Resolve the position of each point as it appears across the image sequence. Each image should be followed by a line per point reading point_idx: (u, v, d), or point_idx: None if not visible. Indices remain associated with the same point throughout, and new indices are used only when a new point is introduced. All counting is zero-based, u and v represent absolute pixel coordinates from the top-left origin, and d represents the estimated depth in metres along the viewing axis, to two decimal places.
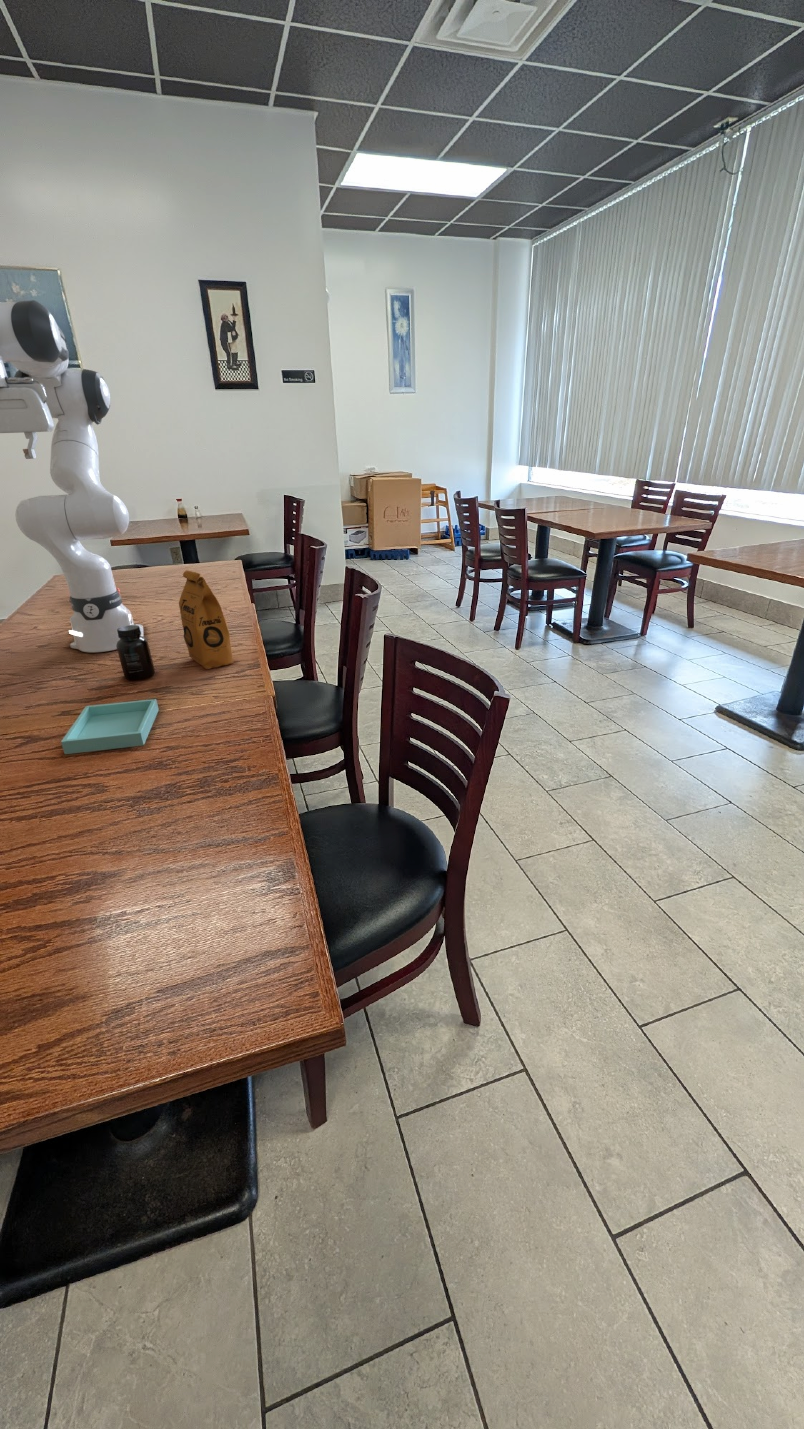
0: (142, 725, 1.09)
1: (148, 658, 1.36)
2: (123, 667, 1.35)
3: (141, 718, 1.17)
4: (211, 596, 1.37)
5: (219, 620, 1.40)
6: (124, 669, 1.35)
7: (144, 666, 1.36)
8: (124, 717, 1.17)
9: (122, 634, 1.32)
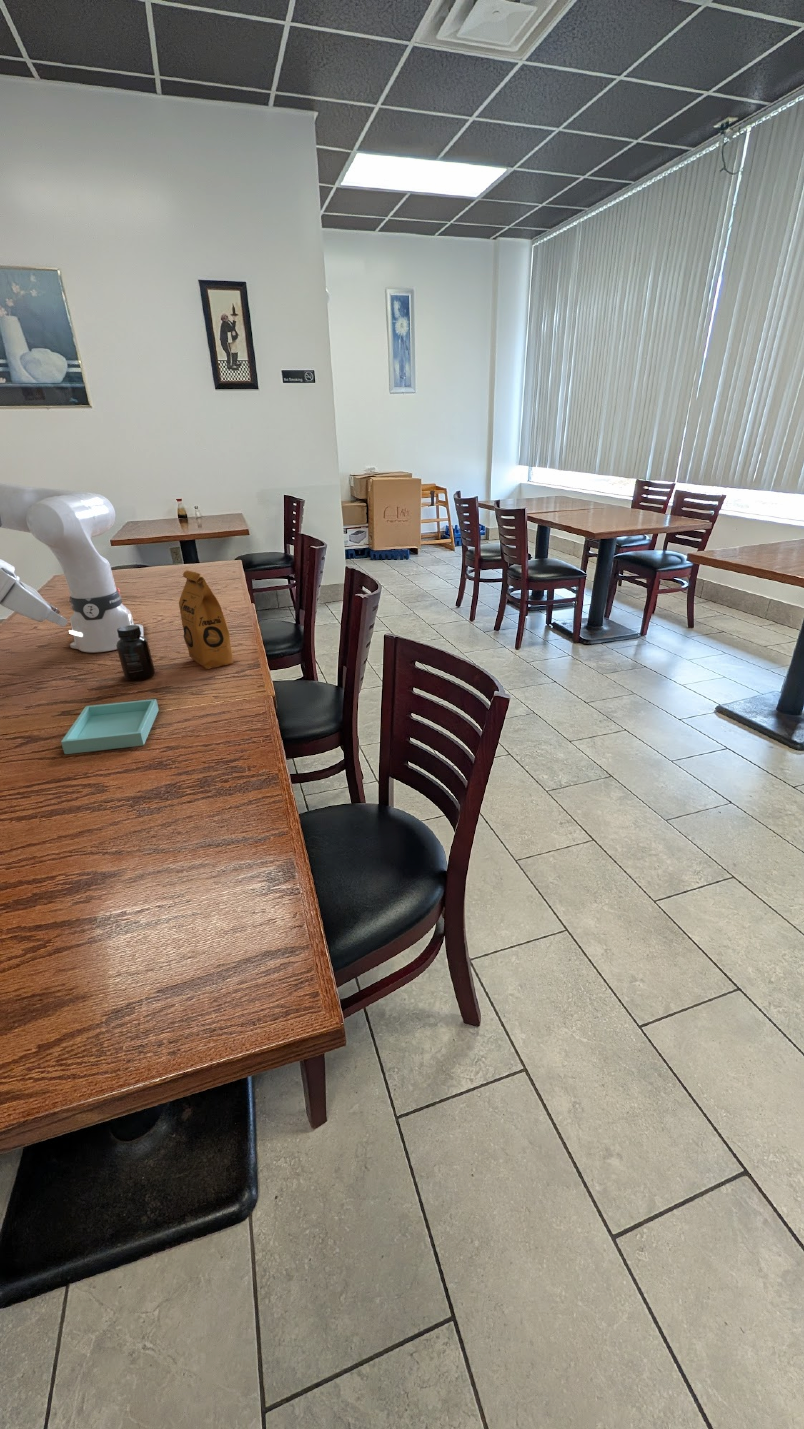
0: (142, 725, 1.09)
1: (148, 658, 1.36)
2: (123, 667, 1.35)
3: (141, 718, 1.17)
4: (211, 596, 1.37)
5: (219, 620, 1.40)
6: (124, 669, 1.35)
7: (144, 666, 1.36)
8: (124, 717, 1.17)
9: (122, 634, 1.32)
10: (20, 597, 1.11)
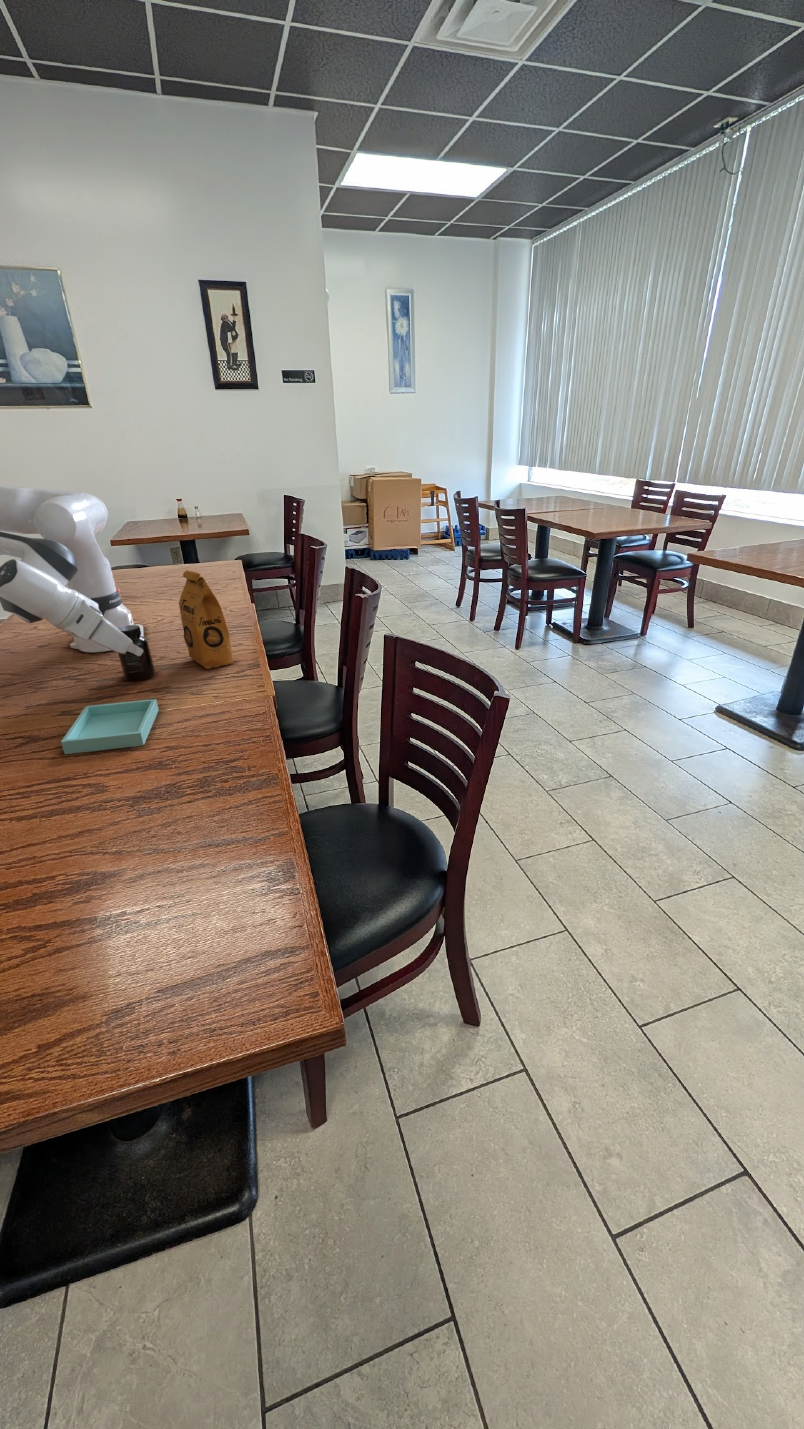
0: (142, 725, 1.09)
1: (148, 658, 1.36)
2: (123, 667, 1.35)
3: (141, 718, 1.17)
4: (211, 596, 1.37)
5: (219, 620, 1.40)
6: (124, 669, 1.35)
7: (144, 666, 1.36)
8: (124, 717, 1.17)
9: None
10: (107, 632, 1.23)
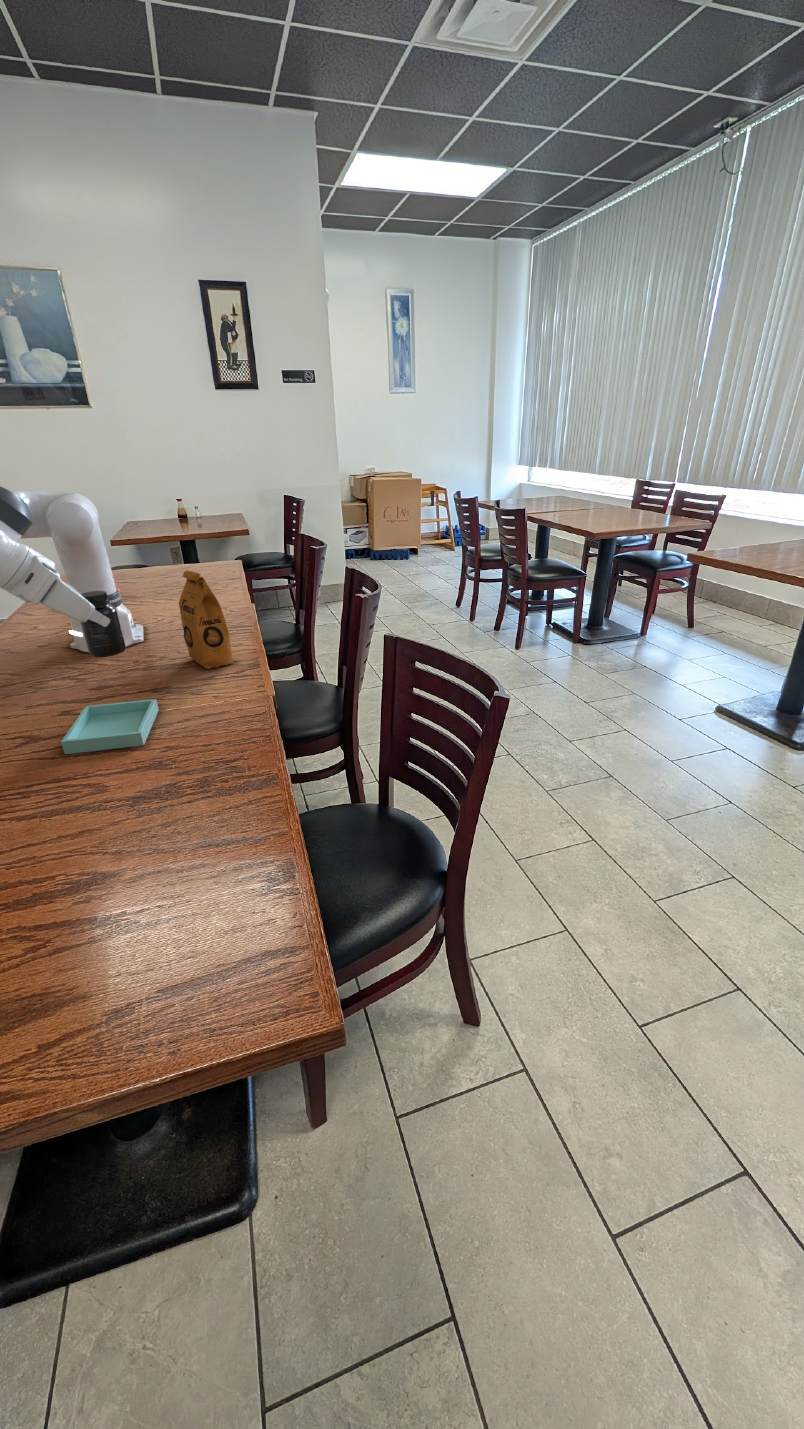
0: (142, 725, 1.09)
1: (117, 630, 1.15)
2: (87, 640, 1.14)
3: (141, 718, 1.17)
4: (211, 596, 1.37)
5: (219, 620, 1.40)
6: (88, 643, 1.14)
7: (112, 640, 1.14)
8: (124, 717, 1.17)
9: None
10: (62, 595, 1.01)
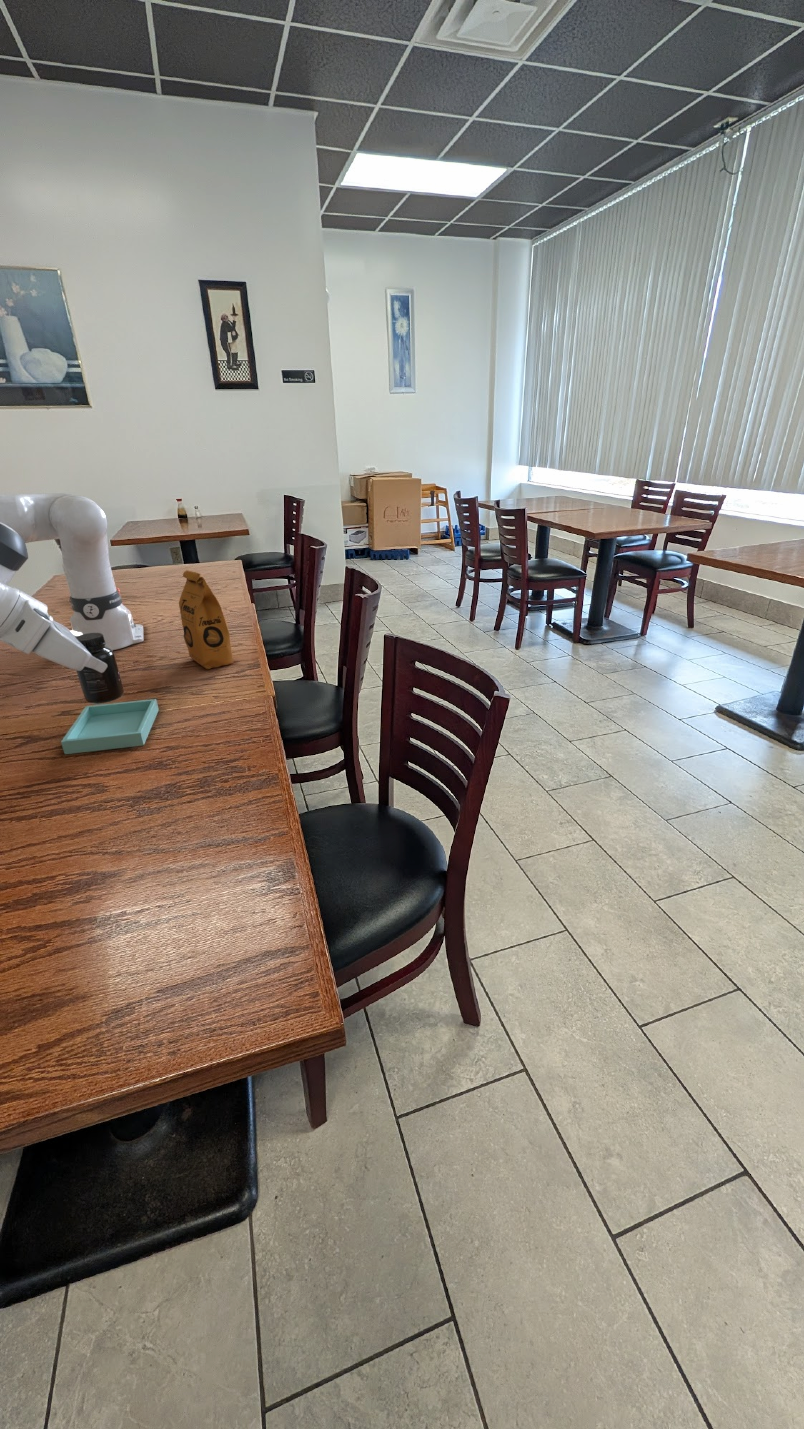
0: (142, 725, 1.09)
1: (115, 675, 1.08)
2: (82, 686, 1.07)
3: (141, 718, 1.17)
4: (211, 596, 1.37)
5: (219, 620, 1.40)
6: (84, 689, 1.07)
7: (109, 685, 1.07)
8: (124, 717, 1.17)
9: None
10: (56, 643, 0.94)
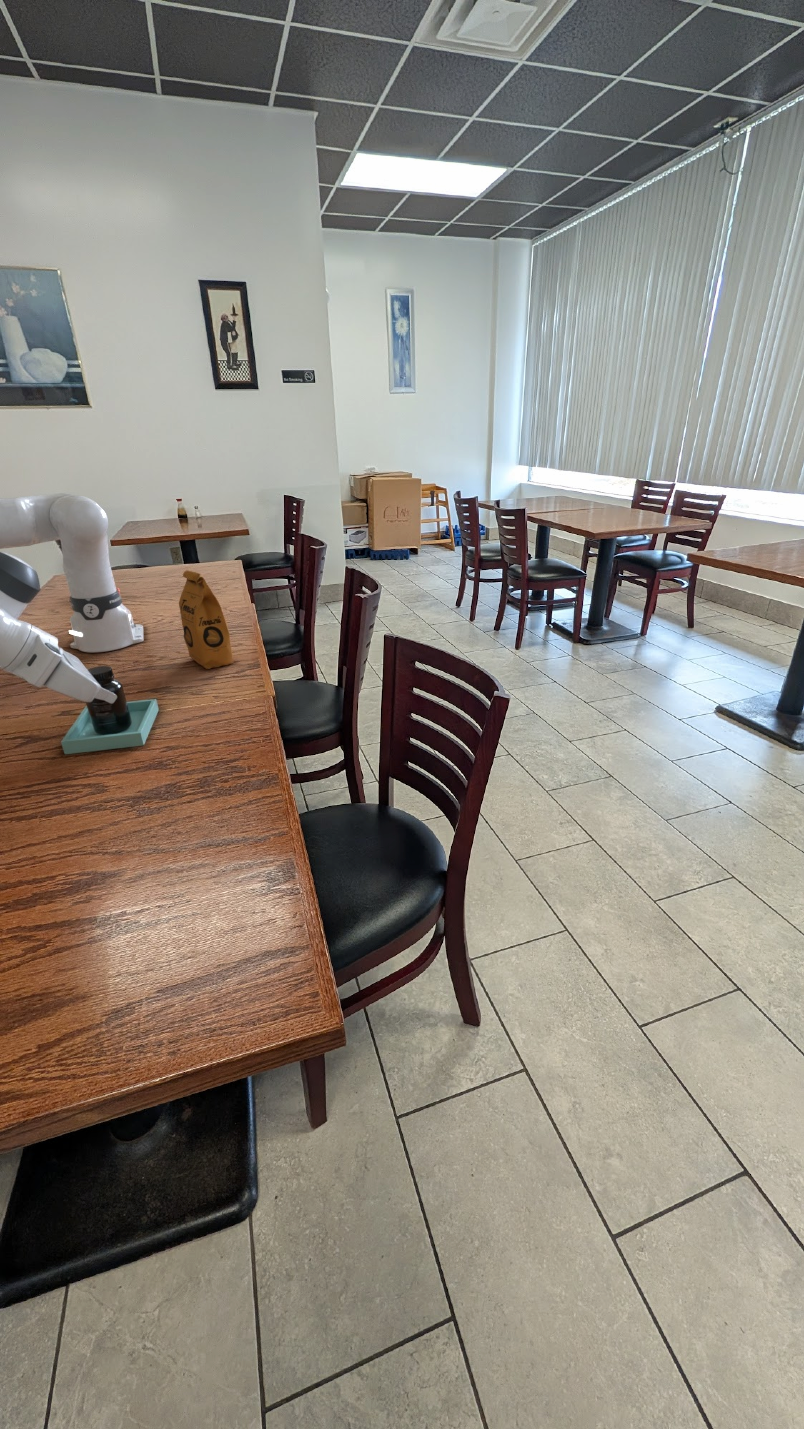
0: (142, 725, 1.09)
1: (123, 707, 1.11)
2: (92, 718, 1.10)
3: (141, 718, 1.17)
4: (211, 596, 1.37)
5: (219, 620, 1.40)
6: (93, 721, 1.10)
7: (117, 717, 1.10)
8: None
9: None
10: (67, 677, 0.97)
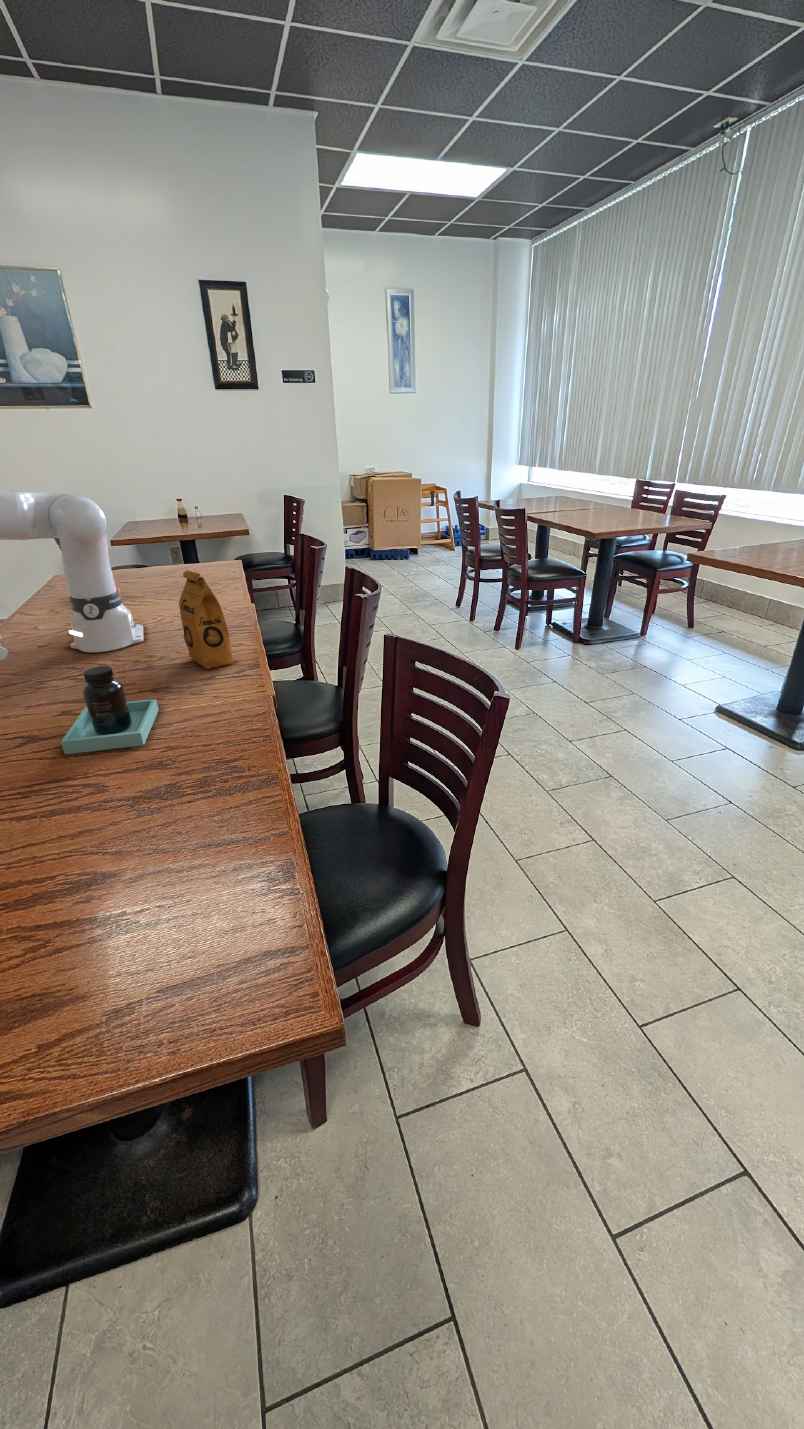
0: (142, 725, 1.09)
1: (123, 707, 1.11)
2: (92, 718, 1.10)
3: (141, 718, 1.17)
4: (211, 596, 1.37)
5: (219, 620, 1.40)
6: (93, 721, 1.10)
7: (117, 717, 1.10)
8: None
9: (90, 678, 1.07)
10: None
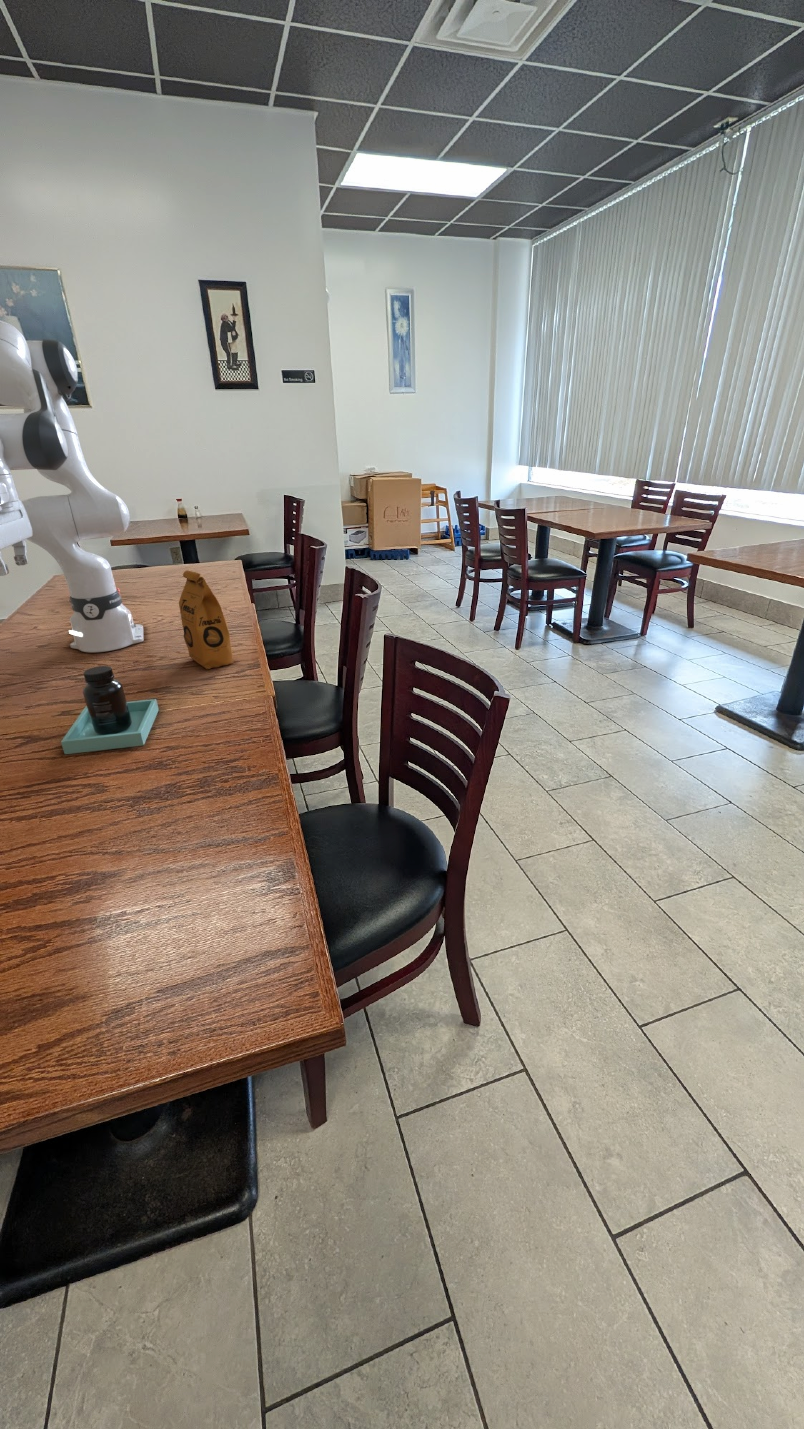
0: (142, 725, 1.09)
1: (123, 707, 1.11)
2: (92, 718, 1.10)
3: (141, 718, 1.17)
4: (211, 596, 1.37)
5: (219, 620, 1.40)
6: (93, 721, 1.10)
7: (117, 717, 1.10)
8: None
9: (90, 678, 1.07)
10: None
